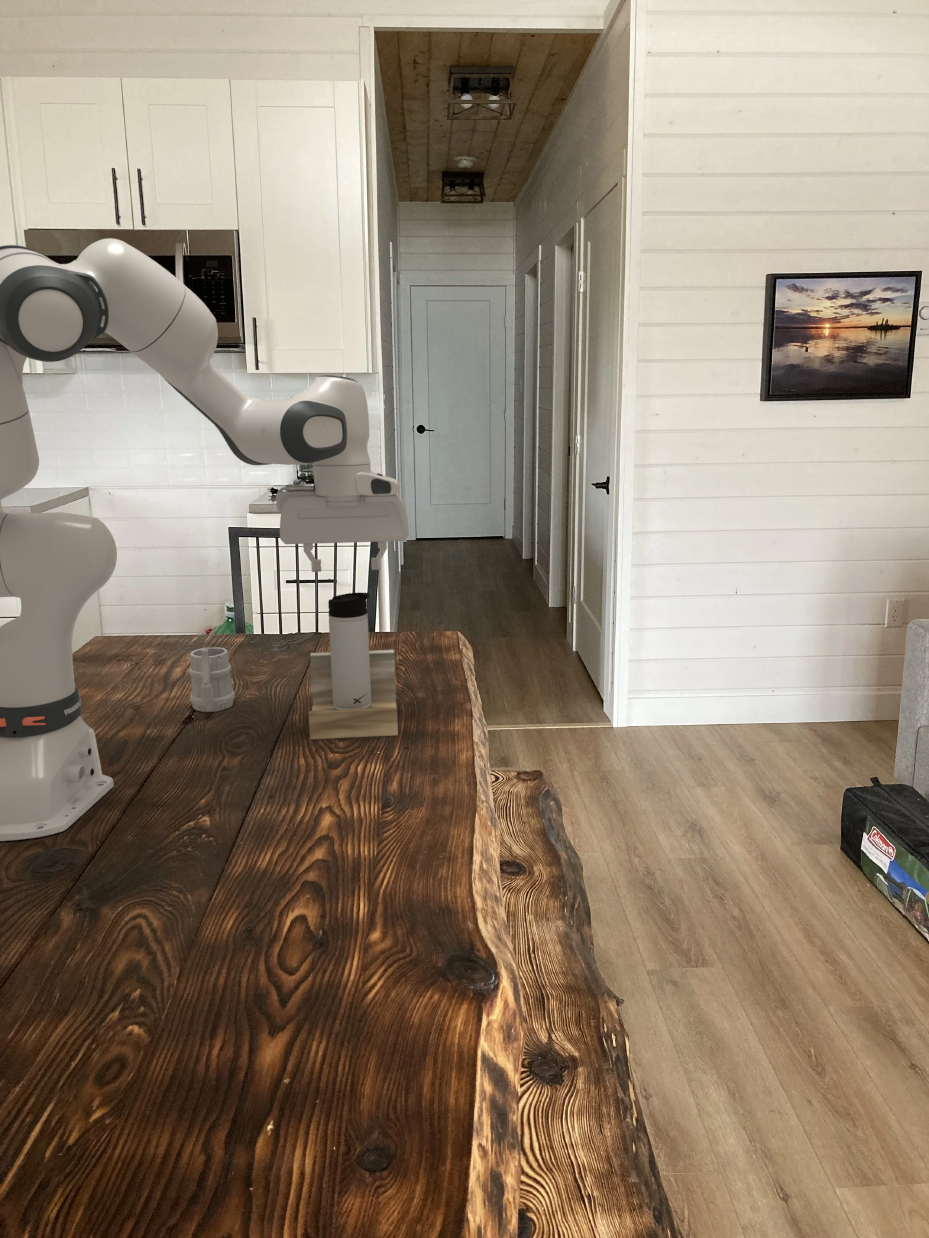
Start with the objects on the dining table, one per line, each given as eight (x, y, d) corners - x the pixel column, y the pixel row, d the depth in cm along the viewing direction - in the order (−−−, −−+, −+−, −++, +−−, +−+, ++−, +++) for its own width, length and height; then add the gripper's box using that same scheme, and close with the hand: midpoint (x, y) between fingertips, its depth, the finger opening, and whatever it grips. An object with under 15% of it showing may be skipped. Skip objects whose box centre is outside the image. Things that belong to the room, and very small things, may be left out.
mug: (236, 697, 172) (232, 633, 169) (231, 719, 160) (226, 651, 157) (193, 699, 170) (187, 635, 168) (185, 722, 159) (179, 653, 156)
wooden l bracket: (397, 735, 152) (395, 669, 149) (310, 739, 151) (306, 673, 148) (396, 710, 163) (394, 649, 161) (314, 714, 162) (310, 652, 159)
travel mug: (367, 719, 152) (362, 598, 148) (328, 716, 154) (321, 597, 149) (378, 706, 158) (373, 589, 153) (340, 704, 160) (334, 588, 155)
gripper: (273, 486, 144) (278, 575, 147) (408, 483, 146) (410, 571, 149) (277, 483, 150) (282, 569, 153) (406, 480, 152) (408, 565, 155)
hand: (346, 570), depth 151 cm, fingers open, 8 cm apart
